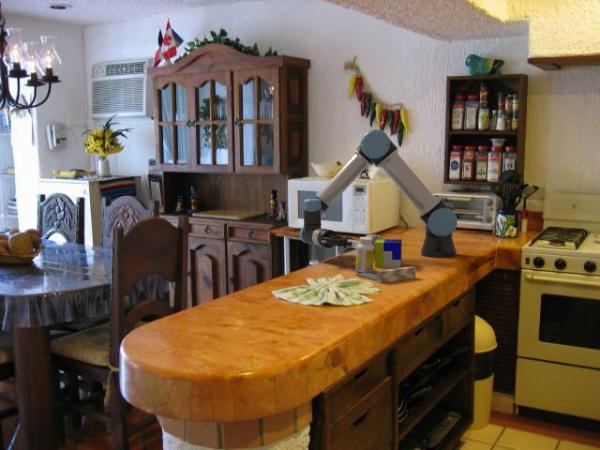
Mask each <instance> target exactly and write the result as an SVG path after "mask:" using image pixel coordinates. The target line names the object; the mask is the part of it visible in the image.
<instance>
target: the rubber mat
mask: <svg viewBox="0 0 600 450" xmlns="http://www.w3.org/2000/svg"><path fill="white" fill-rule="evenodd" d="M381 270H382V269H380V270H379V271H381ZM377 271H378V270H375V271H374V270H373V271H372V272H365V273H363V272H359V273H355V276H357V277H360V278H364V279H368V280H371V281H375V282H377Z"/></svg>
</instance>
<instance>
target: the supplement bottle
mask: <svg viewBox="0 0 600 450" xmlns="http://www.w3.org/2000/svg"><path fill="white" fill-rule="evenodd" d="M359 241H360V244H358V245H357V249H356V253H355V254H356V257H355V270H356V271H357V272H359V273H365V272H372V271H374V263H375V253H374V246H373V245H372V244H371V242H372V238H370V237H366V236H361V237H359Z"/></svg>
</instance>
